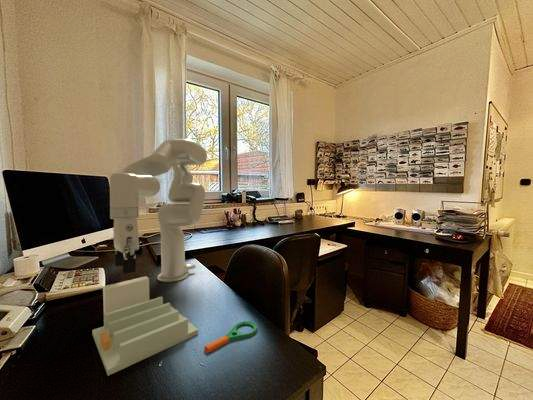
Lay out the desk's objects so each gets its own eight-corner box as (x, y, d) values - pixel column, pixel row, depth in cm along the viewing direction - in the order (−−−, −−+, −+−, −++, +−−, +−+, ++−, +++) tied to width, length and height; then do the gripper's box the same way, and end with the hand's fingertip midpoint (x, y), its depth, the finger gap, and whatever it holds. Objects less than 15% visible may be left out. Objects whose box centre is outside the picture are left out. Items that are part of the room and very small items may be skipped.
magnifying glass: (247, 322, 68) (247, 316, 68) (261, 331, 64) (261, 325, 64) (199, 347, 57) (199, 341, 57) (213, 360, 53) (213, 353, 53)
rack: (169, 307, 75) (168, 293, 75) (198, 333, 62) (197, 316, 62) (92, 334, 61) (91, 316, 61) (107, 375, 48) (107, 353, 48)
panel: (146, 302, 79) (146, 276, 79) (149, 305, 77) (149, 278, 76) (103, 315, 71) (102, 286, 70) (105, 319, 69) (104, 289, 68)
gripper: (147, 214, 69) (147, 272, 69) (130, 211, 81) (130, 261, 81) (117, 216, 63) (117, 279, 64) (104, 212, 76) (104, 265, 76)
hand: (124, 268), depth 72 cm, fingers open, 9 cm apart
